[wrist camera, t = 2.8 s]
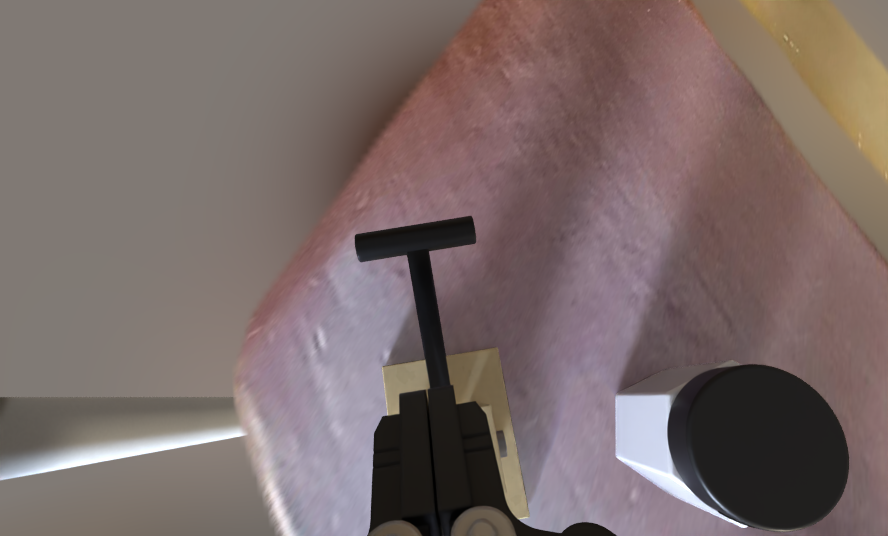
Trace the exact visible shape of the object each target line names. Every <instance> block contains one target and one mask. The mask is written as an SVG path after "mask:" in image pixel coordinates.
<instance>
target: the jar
mask: <svg viewBox="0 0 888 536" xmlns="http://www.w3.org/2000/svg"><path fill="white" fill-rule="evenodd" d="M615 411H616V457H617V458H618V459H619V460H621V461H622V462H624V463H625V464H626V465H628V466H629V467H631V468H632V469H634V470H635V471H636V472H638V473H639V474H641V475H642V476H644V477H645V478H646V479H648V480H649V481H651V482H652V483H654V484H655V485H656V486H658V487H659V488H661V489H662V490H664V491H665V492H666V493H668V494H669V495H672V496H674V497H676V498H678V499H680V500H683V501H685V502H687V503H689V504H691V505H694V506H696V507H698V508H700V509H702V510H705V511H707V512H709V513H711V514H713V515H716V516H718V517H720V518H722V519H724V520H727V521H729V522H731V523H733V524H735V525H738V526H740V527H742V528H746V527H748V526H749V527H753V528H758V529H761V530H766V531H772V532H791V531H797V530H801V529H804V528H807V527H810V526H812V525H814V524H816V523H817V522H819V521H820V520H822V519H823V518H824V517H826V516H827V515H828V514H829V513H830V512H831V511H832V510H833V509H834V507H835V506H836V505H837V503H838V502H839V500H840V498H841V496H842V494H843V492H844V489H845V486H846V483H847V479H848V473H849V453H848V447H847V442H846V438H845V435H844V432H843V430H842V427H841V425H840V423H839V421H838V419H837V417H836V415H835V414H834V412H833V410H832V409H831V407H830V406H829V405H828V403H827V402H826V401H825V400H824V399H823V397H822V396H821V395H820V394H819V393H818V392H817V391H816V390H815V389H813V388H812V387H811V386H810V385H809V384H807V383H806V382H804V381H803V380H802V379H800V378H798V377H797V376H795V375H793V374H791V373H789V372H786V371H784V370H781V369H778V368H775V367H771V366H766V365H757V364H748V365H740V364H739V363H737V362H736V361H734V360H727V361H719V362H712V363H705V364H697V365H690V366H683V367H675V368H668V369H664V370H662V371H660V372H658V373H656V374H654V375H652V376H650V377H648V378H646V379H644V380H642V381H640V382H638V383H636V384H634V385H632V386H630V387H628V388H626V389H624V390H622V391H620V392H618V393H617V394H616V396H615Z"/></svg>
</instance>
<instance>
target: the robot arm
mask: <svg viewBox="0 0 888 536" xmlns="http://www.w3.org/2000/svg"><path fill="white" fill-rule="evenodd" d="M428 402H429V403H428ZM367 536H616V535H615V534H614V533H612V532H611V531H610V530H608V529H606V528H605V527H603V526H600V525H598V524H594V523H588V522H582V523H576V524H573V525H571V526H569V527H568V528H566V529H565V530H564V531H563V532H562V533H555V532H550V531H544V530H539V529H534V528H532V527H529V526H527V525H525V524H524V523H522V522H521V521H520V520H518V519H517V518H516V517H515V516H514V515H513V513H512V512H511V511H510V509H509V507H508V505H507V502H506V499H505V494H504V490H503V486H502V481H501V477H500V472H499V468H498V463H497V459H496V455H495V450H494V446H493V441H492V437H491V433H490V428H489V424H488V419H487V415H486V413H485V412H484V411H483V410H482V408H481V407H480V406H479V405H478V404H477V402H476V401H472V402H466V403H460V404H456V399H455V393H454V386H453V385H448V386H442V387H436V388H430V389H428V398H427V393H426V389H424V390H418V391H412V392H406V393H400V394H399V414H394V415H388V416H383V417H382V419H381V421H380V423H379V425H378V427H377V429H376V431H375V433H374V454H373V474H372V498H371V522H370V529H369V533H368V535H367Z"/></svg>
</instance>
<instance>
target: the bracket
mask: <svg viewBox="0 0 888 536" xmlns="http://www.w3.org/2000/svg"><path fill="white" fill-rule="evenodd" d="M446 359H447V365H448V371H449V377H450V383H451V385H453V386H454V393H455V399H456V404H460V403H466V402H472V401H476V402H477V404H478V405H479V406H480V407H481V408H482V410H483V411H484V412H485V413H486V415H487V419H488V424H489V428H490V433H491V437H492V441H493V446H494V450H495V455H496V459H497V463H498V468H499V472H500V477H501V481H502V486H503V490H504V494H505V499H506V502H507V505H508V507H509V509H510V511H511V512H512V513H513V515H514V516H515V517H516V518H517V519H523V518H528V517H530V515H529V510H528V504H527V499H526V494H525V489H524V483H523V478H522V473H521V468H520V462H519V457H518V452H517V447H516V441H515V436H514V431H513V426H512V420H511V415H510V410H509V405H508V399H507V394H506V389H505V383H504V378H503V373H502V368H501V362H500V357H499V352H498V348H497V347H496V348H490V349H484V350H478V351H472V352H466V353H460V354H454V355H448V356H446ZM382 373H383V381H384V389H385V397H386V405H387V413H388V415H394V414H399V394H400V393H406V392H412V391H418V390H424V389H426V393H427V398H428V389H430V385H429V379H428V373H427V367H426V361H425V359H424V360H418V361H412V362H406V363H400V364H394V365H388V366H383V367H382ZM428 403H429V402H428Z"/></svg>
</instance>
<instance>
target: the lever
mask: <svg viewBox="0 0 888 536" xmlns="http://www.w3.org/2000/svg"><path fill="white" fill-rule="evenodd" d="M475 243H476V233H475V227H474V222H473V218H472V216H467V217H461V218H454V219H448V220H442V221H436V222H429V223H423V224H417V225H411V226H405V227H398V228H392V229H386V230H380V231H374V232H367V233H361V234H356V235H355V248H356V253H357V257H358V259H359V261H360V262H365V261H372V260H378V259H384V258H390V257H396V256H402V255H407V257H408V263H409V268H410V274H411V280H412V286H413V292H414V298H415V303H416V309H417V315H418V321H419V327H420V332H421V338H422V344H423V350H424V356H425V361H426V367H427V373H428V379H429V385H430V388H436V387H442V386H448V385H451V383H450V377H449V371H448V365H447V359H446V353H445V347H444V341H443V335H442V328H441V322H440V316H439V310H438V304H437V298H436V292H435V286H434V280H433V274H432V268H431V261H430V255H429V251H433V250H439V249H446V248H452V247H458V246H464V245H470V244H475Z"/></svg>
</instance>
